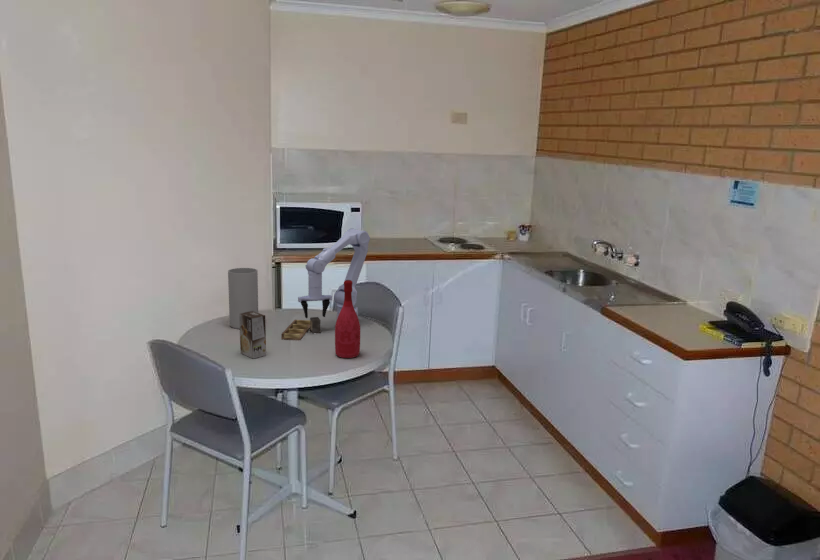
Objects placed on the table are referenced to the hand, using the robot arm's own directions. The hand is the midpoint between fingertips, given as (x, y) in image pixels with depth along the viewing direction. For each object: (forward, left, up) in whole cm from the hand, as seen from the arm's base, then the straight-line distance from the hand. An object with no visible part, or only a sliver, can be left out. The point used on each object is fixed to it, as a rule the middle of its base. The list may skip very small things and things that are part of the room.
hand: (315, 317), depth 273 cm
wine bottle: (-19, +28, -7) cm, 35 cm away
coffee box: (+17, +33, -7) cm, 38 cm away
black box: (0, 0, -7) cm, 7 cm away
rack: (+7, +2, -7) cm, 10 cm away
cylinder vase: (+33, -4, -7) cm, 34 cm away
